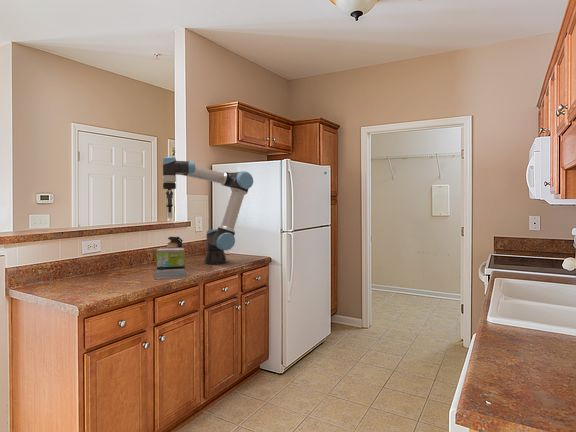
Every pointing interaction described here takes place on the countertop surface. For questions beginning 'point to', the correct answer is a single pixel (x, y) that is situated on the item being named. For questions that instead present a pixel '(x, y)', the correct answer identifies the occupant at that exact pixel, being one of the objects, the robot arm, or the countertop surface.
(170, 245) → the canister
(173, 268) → the tea box
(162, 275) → the grey flat slab
